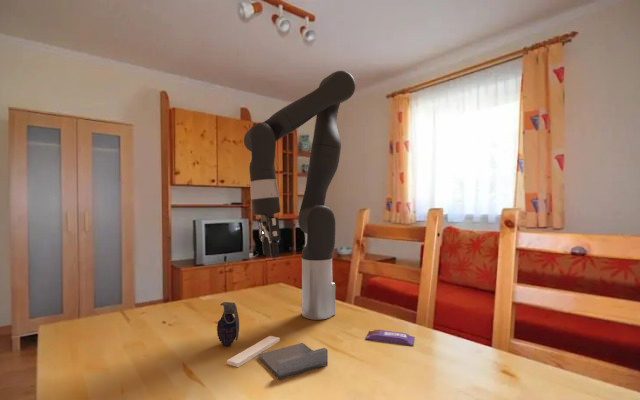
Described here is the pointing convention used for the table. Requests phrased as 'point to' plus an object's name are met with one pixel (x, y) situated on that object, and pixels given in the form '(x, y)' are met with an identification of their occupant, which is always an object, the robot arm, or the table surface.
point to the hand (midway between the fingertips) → (271, 255)
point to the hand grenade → (228, 324)
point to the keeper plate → (294, 360)
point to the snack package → (390, 337)
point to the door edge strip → (252, 351)
